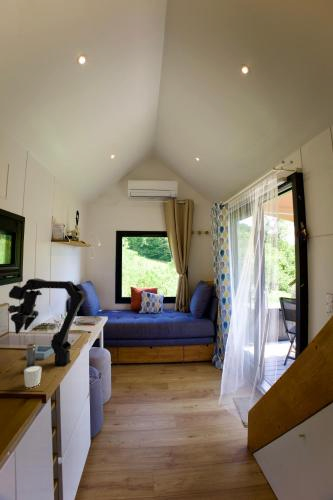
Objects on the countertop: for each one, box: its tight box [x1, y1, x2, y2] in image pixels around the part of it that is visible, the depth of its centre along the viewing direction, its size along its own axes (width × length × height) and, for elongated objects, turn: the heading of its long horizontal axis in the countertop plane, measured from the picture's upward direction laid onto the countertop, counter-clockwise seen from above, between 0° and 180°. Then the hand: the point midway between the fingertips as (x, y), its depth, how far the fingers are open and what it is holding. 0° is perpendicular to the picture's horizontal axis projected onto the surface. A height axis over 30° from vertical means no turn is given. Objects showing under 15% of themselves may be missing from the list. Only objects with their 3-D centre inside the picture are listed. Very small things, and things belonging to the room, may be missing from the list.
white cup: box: [23, 365, 43, 387], centre depth 108 cm, size 7×7×7 cm
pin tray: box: [25, 345, 55, 361], centre depth 142 cm, size 11×11×4 cm
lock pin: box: [23, 342, 37, 371], centre depth 122 cm, size 6×6×12 cm
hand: (21, 331), depth 130 cm, fingers open, 9 cm apart
